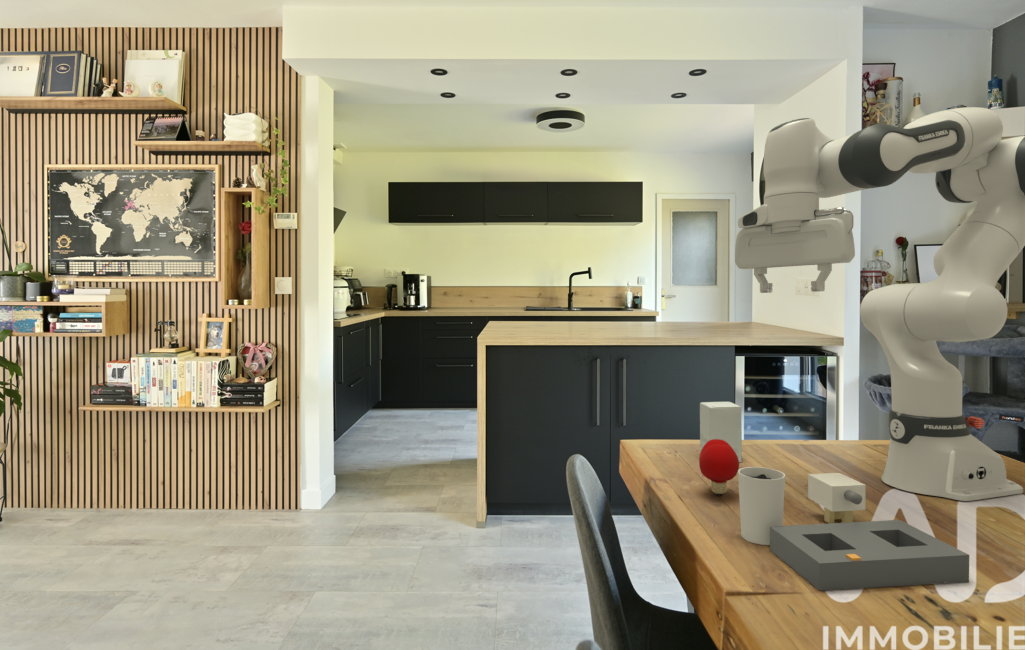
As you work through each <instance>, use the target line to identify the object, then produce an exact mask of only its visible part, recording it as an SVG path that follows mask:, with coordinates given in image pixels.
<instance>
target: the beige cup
mask: <svg viewBox="0 0 1025 650" xmlns="http://www.w3.org/2000/svg"><path fill="white" fill-rule="evenodd" d="M737 478H738V496H739V498H738V499H739V514H740V515H739V516H740V517H739V518H740V533H741V534H740V535H741V537H742V538H743V539H744V540H746V541H747V542H749V543H752V544H756V545H761V546H770V527H771V526H784V507H785V492H786V491H785V487H786V474H785V473H784V472H782V471H780V470H777V469H773V468H769V467H763V466H749V467H748V466H747V467H742V468H739V469H738V472H737Z"/></svg>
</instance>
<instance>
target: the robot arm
mask: <svg viewBox="0 0 1025 650" xmlns="http://www.w3.org/2000/svg"><path fill="white" fill-rule="evenodd" d="M1003 132H1004V126H1003V120H1002V119H1001V117H1000V116H999V115H998V113H996V112H995V111H993V110H992V109H989V108H986V107H979V106H978V107H976V106H966V107H956V108H949V109H945V110H939V111H935V112H932V113H929V114H926V115H924V116H921V117H919V118H917V119H915V120H913V121H910V122H909V123H907V124H906V125H905V126H903V127H899V126H895V125H891V124H887V123H875V124H871V125H870V126H867V127H865V128H863V129H861V130H858V131H856V132H854V133H851V134H848V135H845V136H843V137H839V138H837V139H835V138H832V137H829V136H828V135H826V134H825V133H824V132H822V131H821V130H820V129H819V128H818V126H817V125H816V121H815V120H814V119H813V118H810V117H802V118H797V119H792V120H789V121H786V122H783V123H781V124H778V125H777V126H774V127H773V128H771V129H770V130H769V132H768V134H767V136H766V139H765V145H764V152H763V177H764V181H765V191H764V195H763V204H761V205H760V206H758V207H756V208H755V209H752V210H751V211H749V212H746V213H745V214H743V215H741V216H739V217H738V218H737V226H738V228H740V229H741V230H740V231H738V233H737V235H736V238H735V245H734V263H735V265H736V267H737V268H738V269H741V270H751V269H753V275H754V277H755V279H756V280H757V282H758V284H759V293H761V294H769V293H770V294H771V293H773V282H769V281H768V280H767V278H766V276H765V275H767V274H768V268H769V269H771V268H773V269H774V268H783V267H784V268H785V267H786V268H787V267H788V268H789V267H801V266H817V268H816V270H817V271H818V272H819V274H818V275H817V277H816V280H814V281H810V286H811V287H810V291H811V292H816V293H817V292H825V289H826V288H825V287H826V286H825V285H826V283H825V282H826V281H827V280H828V278H829V276H830V274H831V273H832V270H833V265H834V264H847V263H849V264H850V263H851V261H852V260H853V259H854V258H855V256H856V250H855V240H854V234H853V228H854V224H855V223H854V220H855V219H854V214H853V213H852V211H851V210H849V209H846V208H845V207H844V206H841V207H840V206H839V207H834V208H824V209H820V198H821V199H826V198H827V199H828V198H833V197H837V196H842V195H847V194H850V193H854V192H859V191H862V190H867V189H875V188H881V187H888V186H890V185H893V184H894V183H895V182H897V181H898V180H900V179H901V178H902V177H903V176H904V175H906V173H908V172H910V173H912V174H931V173H933V174H934V173H935V188H936V189H937V192H938V193H939V195H941V197H942V198H943V199H944V200H945V201H946V202H949V203H954V204H970V203H973V202H976V205H975V207H974V209H973V211H972V213H971V214H969V216H967V217H966V218H965V219H964V220H963V222H961V223H960V225H959V226H957V228H955V230H954V231H953V232H952V233H951V235H949V237H948V238H947V239H946V241H945V242H944V243H943V244H942V245H941V246H940V248H938V250H937V251H936V252H935V254H934V256H933V269H934V271H935V273H936V275H937V277H936V278H935V279H933V280H931V281H928V282H919V283H918V282H914V283H912V282H911V283H894V284H889V285H886V286H885V285H884V286H881V287H878V288H875V289H872V290H870V291H869V292H867V293H866V295H865V296H864V297H863V299H862V301H861V303H860V306H859V316H860V320H861V323H862V324H863V326H864V328H866V330H868V331H869V332H870V333H871V334H872V335H873V336H874V337H875V338H876V341H878V343H879V344H880V347H881V348H882V351H883V352H884V355H885V357H886V360H887V364H888V367H889V372H890V383H891V385H890V386H891V391H890V392H891V408H890V409H889V410H888V429H889V431H888V432H889V437H890V438H889V446H888V454H887V458H886V462H885V466H884V469H883V472H882V474H881V477H880V478H881V479H880V480H881V481H882V482H883V483H884V484H886V485H888V486H890V487H893V488H896V489H899V490H903V491H906V492H910V493H917V494H920V495H926V496H927V495H928V496H935V497H941V498H942V497H943V498H946V499H951V500H955V501H959V502H960V501H961V502H969V501H977V500H985V499H991V498H999V497H1006V496H1012V495H1018V494H1023V493H1024V488H1023V486H1022V485H1020V484H1019V483H1016V482H1015V481H1013V480H1011V479H1007V469H1006V464H1005V461H1004V459H1003V457H1001V455H1000V454H999V453H997V452H996V451H995V450H993V449H991V448H990V447H989V446H988V445H986V444H984V443H983V442H982V441H980V439H978V438H977V437H975V436H974V435H973V434H972V431H971V428H973V427H974V428H975V429H982V428H983V427H984V426H985V420H984V419H983V418H982V417H976V416H969V417H967V416H965V415H964V414H963V375H962V373H961V371H960V370H959V369H958V368H957V367H956V366H955V365H953V364H952V363H950V362H949V361H948V360H947V359H945V357H944V356H943V354H941V351H940V350H939V347H938V344H937V342H947V343H966V342H967V343H968V342H974V341H975V342H976V341H981V340H987V339H991V338H993V337H994V336H996V335H997V334H999V332H1000V331H1001V330H1002V328H1003V327H1004V325H1005V324H1006V321H1007V319H1008V305H1007V301H1006V299H1005V298H1004V295H1003V294H1002V293H1001V292H1000V291H999V289H997V288H996V286H997V283H998V281H999V280H1000V278H1001V277H1002V275H1003V274H1004V273H1005V271H1007V269H1008V268H1009V267H1010V266H1011V264H1012V263H1013V262H1014V261H1015V259H1016V258H1017V257H1018V255H1019V254H1020V253H1021V252H1022V250H1023V249H1024V248H1025V135H1021V136H1014V137H1010V138H1004V139H1002V136H1003ZM970 427H971V428H970Z"/></svg>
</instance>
